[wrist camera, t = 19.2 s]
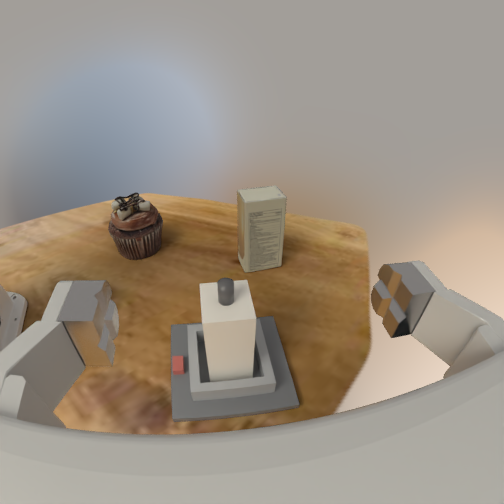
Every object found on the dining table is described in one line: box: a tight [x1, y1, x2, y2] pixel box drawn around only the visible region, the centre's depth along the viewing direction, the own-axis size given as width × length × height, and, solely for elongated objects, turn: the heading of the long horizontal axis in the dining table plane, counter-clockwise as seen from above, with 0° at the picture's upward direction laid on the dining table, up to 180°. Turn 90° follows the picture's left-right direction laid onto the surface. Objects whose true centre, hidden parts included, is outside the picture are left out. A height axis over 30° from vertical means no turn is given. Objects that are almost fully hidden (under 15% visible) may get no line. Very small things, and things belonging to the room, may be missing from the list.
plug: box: [200, 278, 256, 382], centre depth 29 cm, size 5×4×12 cm
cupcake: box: [108, 193, 163, 260], centre depth 49 cm, size 10×10×10 cm
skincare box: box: [237, 186, 287, 273], centre depth 46 cm, size 6×4×12 cm
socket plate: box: [171, 316, 300, 422], centre depth 32 cm, size 13×13×3 cm
